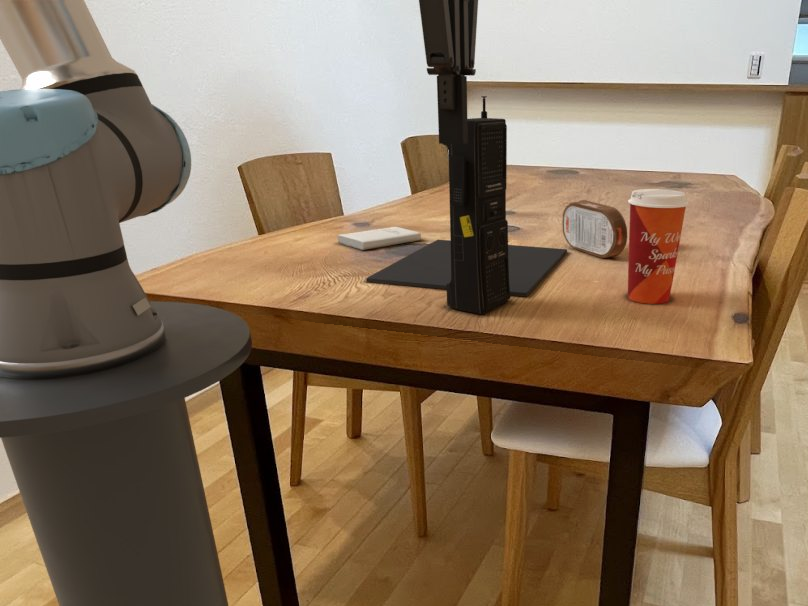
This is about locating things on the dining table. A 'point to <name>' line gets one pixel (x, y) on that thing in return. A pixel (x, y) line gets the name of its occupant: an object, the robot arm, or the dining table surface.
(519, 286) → the mat
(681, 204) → the paper cup
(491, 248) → the portable radio
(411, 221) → the dining table surface
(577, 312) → the dining table surface
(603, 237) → the tin
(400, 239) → the hard drive
